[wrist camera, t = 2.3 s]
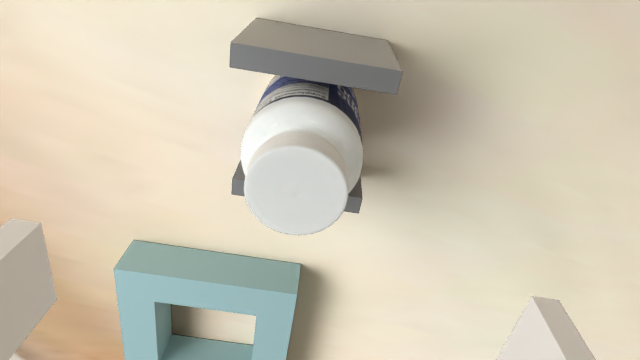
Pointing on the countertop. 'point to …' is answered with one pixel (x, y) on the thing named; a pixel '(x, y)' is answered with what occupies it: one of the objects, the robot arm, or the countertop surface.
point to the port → (202, 301)
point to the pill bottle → (301, 154)
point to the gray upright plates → (315, 66)
